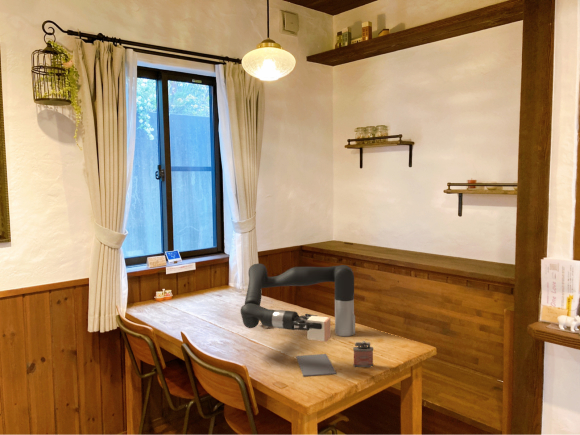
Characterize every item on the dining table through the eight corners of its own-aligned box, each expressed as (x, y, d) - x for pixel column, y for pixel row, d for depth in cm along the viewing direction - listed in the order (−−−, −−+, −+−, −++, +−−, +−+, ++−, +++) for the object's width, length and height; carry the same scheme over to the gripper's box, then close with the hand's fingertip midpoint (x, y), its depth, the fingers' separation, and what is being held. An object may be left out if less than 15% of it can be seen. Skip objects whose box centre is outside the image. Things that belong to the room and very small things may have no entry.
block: (307, 319, 177) (326, 322, 174) (311, 315, 182) (330, 317, 179) (307, 339, 178) (326, 341, 175) (312, 334, 183) (330, 336, 180)
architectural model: (262, 330, 225) (261, 316, 224) (256, 326, 231) (255, 312, 230) (268, 329, 227) (267, 314, 226) (261, 325, 233) (261, 311, 232)
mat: (326, 354, 191) (326, 353, 191) (336, 374, 172) (336, 372, 172) (296, 357, 189) (296, 355, 189) (303, 376, 171) (303, 375, 170)
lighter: (372, 363, 181) (372, 340, 180) (374, 367, 178) (374, 343, 177) (352, 364, 181) (352, 340, 180) (354, 368, 177) (354, 343, 177)
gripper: (291, 323, 191) (329, 327, 184) (278, 334, 177) (318, 339, 171) (291, 306, 190) (329, 309, 184) (278, 315, 177) (318, 320, 170)
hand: (323, 324), depth 177 cm, fingers closed on block, 5 cm apart
